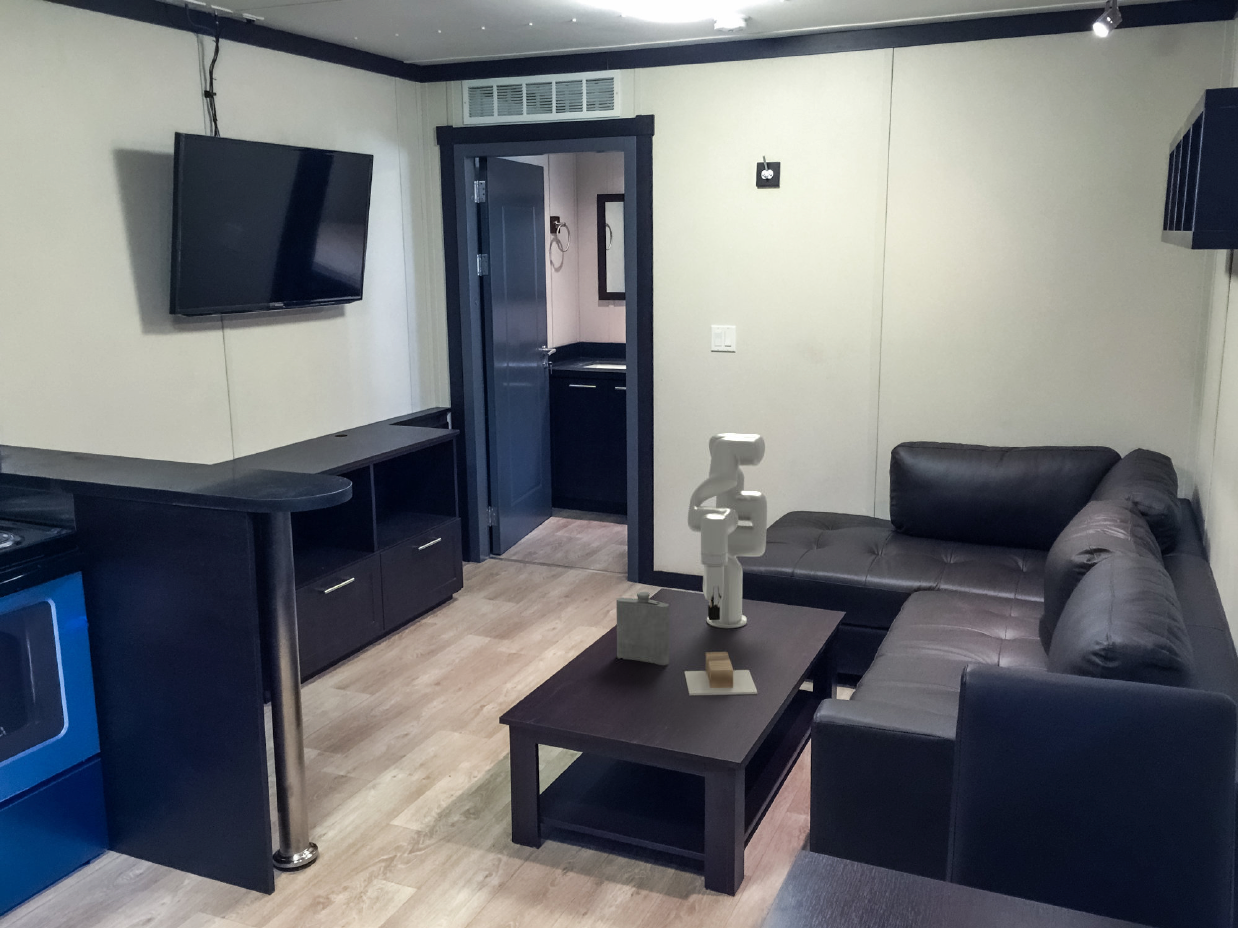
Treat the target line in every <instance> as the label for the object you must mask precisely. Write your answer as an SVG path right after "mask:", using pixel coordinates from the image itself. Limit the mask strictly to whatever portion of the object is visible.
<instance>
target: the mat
mask: <svg viewBox="0 0 1238 928" xmlns="http://www.w3.org/2000/svg"><path fill="white" fill-rule="evenodd" d="M751 674H752V673H751V672H750V670H749V669H741V670H740V669H735V670H734V669H733V687H732V688H711V687H710V683H709V680H708V676H707V672H706V670H688V671H686V670H685V671H684V676H685V677H684V678H685V681H686V685H687V690H688V694H689V696H718V695H719V696H720V695H721V696H722V695H723V696H724V695H725V696H726V695H757V694H758V690H757V688H756V684H755V682H754V679H753V678H752V675H751Z"/></svg>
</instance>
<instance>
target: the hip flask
mask: <svg viewBox="0 0 1238 928" xmlns="http://www.w3.org/2000/svg"><path fill="white" fill-rule="evenodd" d="M636 597H637V598H633V597H632V598H631V597H617V598H616V599H615V600H616V602H615V603H616V658H617V659H620V658H623V659H622V660H631V661H638V662H639V661H640V662H645V663H650V664H654V663H655V665H659V666H667V665H669V664H670V663H669V661H670V660H669V659H670V648H669V647H670V646H669V644H670V643H669V640H670V638H669V637H670V635H669V634H670V630H669V628H670V626H669V625H670V624H669V623H670V621H669V619H670V616H669V615H670V614H669V613H670V608H669V605H670V604H669V603H666V602H661V601H658V600H654V599H650V592H648V591H638V592H637V593H636Z"/></svg>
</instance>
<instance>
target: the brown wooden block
mask: <svg viewBox="0 0 1238 928" xmlns="http://www.w3.org/2000/svg"><path fill="white" fill-rule="evenodd" d="M733 668H734V667H733V665H732V662H731V659H730V657H729V653H728V651H710V652H705V671H706V672H707V676H708V680H709V683H710V687H711V688H732V687H733V670H734V669H733Z"/></svg>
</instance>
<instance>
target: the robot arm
mask: <svg viewBox="0 0 1238 928" xmlns="http://www.w3.org/2000/svg"><path fill="white" fill-rule="evenodd" d="M708 450H709V455H710V465H709V472H708V477H707V478H706V479H705V480H704V481H702V482H701V483H700V484H699V485H698V486H697V487H696V488H695V489H694V491H693V492H692V494H691V496H690V500H689V506H688V513H687V526H688V528H689V529H690V530H691V531H692V532H695V533H700V564H702V566H703V574H702V575H703V576H702V579H703V580H702V591H703V594H704V598H705V600H707V601H708V605H707V613H708V614H707V617H706V622H707V624H709V625H710V626H712V627H716V628H719V629H721V628H722V629H735V628H741V627H743V626H745V625H747V623H748V618H747V617H746V616H745V615H743V567H742V564H741V562H740V561H739V560H738V558H737V557H751V558H753V557H755V558H756V557H761V556H763V555H764V553H765V551H766V547H767V524H768V523H767V522H768V521H767V520H768V501H767V498H766V495H765V494H764V493H762V492H761V491H752V490H750V491H749V490H748V491H747V490H745V475H744V472H743V470H742V469H741V468H740V467H757V466H759V464H760V463H761V462H762V460H763V458H764V456H765V452H766V444H765V439H764V438H763V436H762V435H760V434H751V433H750V434H743V433H742V434H741V433H718V434H715V435H712V436H711V437H710V438H709V441H708ZM713 497H715V499H716V500H715V501H716V502H715V506H707V505H705V506H702V504H703V503H705V502H706V501H707V500H709V499H711V498H713ZM739 522H749V523H751V524H752V525H739Z"/></svg>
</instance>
